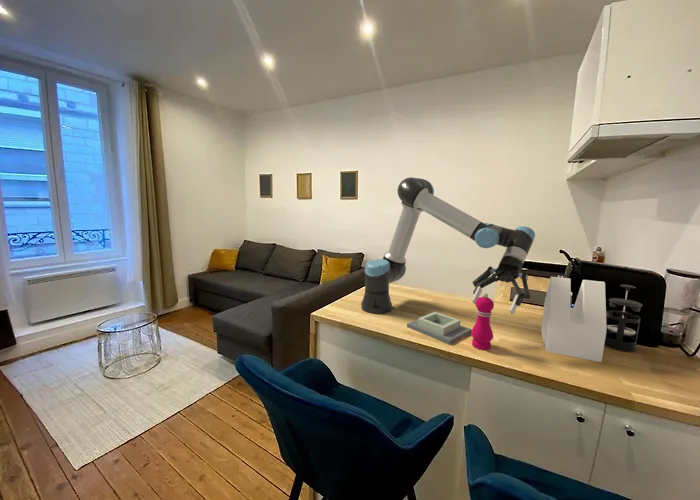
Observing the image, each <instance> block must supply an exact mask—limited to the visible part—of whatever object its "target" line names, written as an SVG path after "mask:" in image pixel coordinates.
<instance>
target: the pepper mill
mask: <svg viewBox="0 0 700 500" xmlns="http://www.w3.org/2000/svg"><path fill="white" fill-rule="evenodd" d="M474 305H475V308H476V311H475V313H476V316H477V318H476V321H475V324H474V326H473V327H472V328H471V329H472V333H470V335H471V337H472V340H471V346H472V347H473V348H475V349H477V350H480V349H481V351H488V350H491V347H492V343H491V341H492V340H493V339H494V332H493V330H492V326H491V322H490V319H491V317H492V313H493V312H492V310H493V309H494V308H495V304H494V300H492V299H491V298H489V295H488V293H487V292H486V293H485V292H484V293H482V296H479V298H478V299H477V300H476V303H475V304H474Z"/></svg>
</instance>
